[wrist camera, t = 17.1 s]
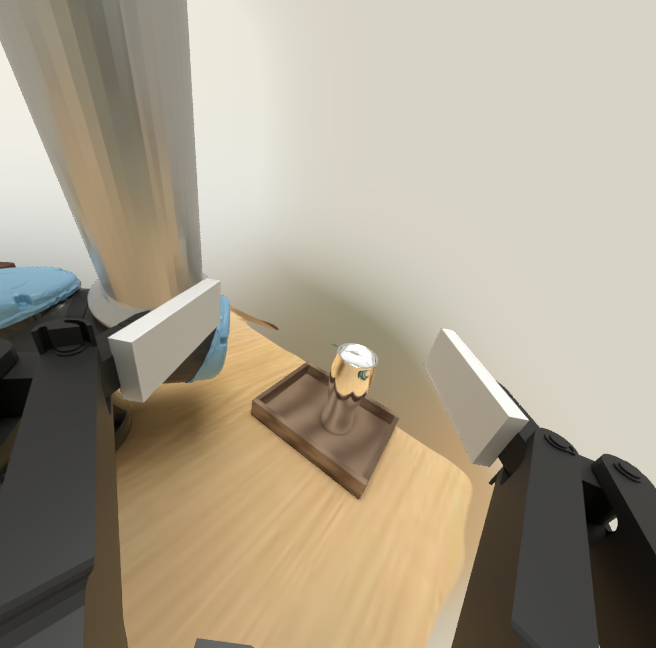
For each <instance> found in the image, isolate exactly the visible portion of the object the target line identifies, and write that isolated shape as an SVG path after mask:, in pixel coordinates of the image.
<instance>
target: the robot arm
mask: <svg viewBox="0 0 656 648" xmlns="http://www.w3.org/2000/svg"><path fill="white" fill-rule="evenodd" d="M0 41H1V44H2V46H3V48H4V51H5V53H6V56H7V58H8V60H9V63H10V65H11V68H12V70H13V72H14V75H15V77H16V80H17V82H18V84H19V87H20V89H21V92H22V94H23V96H24V99H25V101H26V104H27V106H28V109H29V111H30V113H31V116H32V118H33V121H34V123H35V125H36V127H37V130H38V133H39V135H40V137H41V140H42V142H43V145H44V147H45V149H46V152H47V154H48V157H49V159H50V162H51V164H52V166H53V169H54V171H55V174H56V176H57V178H58V181H59V183H60V185H61V188H62V190H63V193H64V195H65V197H66V200H67V202H68V205H69V207H70V210H71V212H72V215H73V217H74V219H75V222H76V224H77V226H78V229H79V231H80V234H81V236H82V238H83V241H84V243H85V246H86V248H87V251H88V253H89V255H90V258H91V260H92V263H93V265H94V267H95V270H96V272H97V275H98V277H99V279H98V280H97V281H96V282H95V283H94V284H93V285H92V287H91V288H90V289H84V288H81V281H80V280H79V279H78V278H77V277H76V275H75V274H73V273H72V272H70V271H67V270H63V269H60V268H54V267H15V268H3V269H0V648H128V645H127V638H126V633H125V627H124V621H123V609H122V589H121V567H120V546H119V524H118V503H117V482H116V460H115V451H116V450H117V448H118V447H119V446H120V445H121V444H122V442H123V441H124V439H125V438H126V436H127V434H128V432H129V430H130V427H131V414H130V410H129V406H128V404H127V402H126V400H129V401H135V402H140V403H144V402H145V401H146V400H147V399H148V398H149V397H150V396H151V395H152V394H153V393H154V392H155V391H156V389H157V388H158V387H159V386H160V385H161V384H164V383H180V382H185V383H192V382H194V381H197V380H205V379H211V378H214V377H216V376H217V375H218V374H219V373H220V372H221V370H222V368H223V365H224V361H225V357H226V352H227V339H228V334H229V326H230V304H229V300H228V298H227V297H226V296H224V295H220V281H218V280H214V279H210V278H209V277H208V276H206V275H205V274H204V273H202V260H201V242H200V225H199V208H198V189H197V174H196V154H195V137H194V119H193V102H192V84H191V67H190V49H189V32H188V14H187V0H0ZM424 367H425V369H426V371H427V373H428V375H429V377H430V379H431V381H432V383H433V385H434V387H435V389H436V391H437V393H438V395H439V397H440V399H441V401H442V403H443V405H444V407H445V409H446V411H447V413H448V415H449V417H450V420H451V422H452V423H453V426H454V428H455V430H456V432H457V434H458V436H459V438H460V440H461V442H462V444H463V446H464V448H465V450H466V452H467V454H468V456H469V458H470V460H471V462H472V463H473V464H478V465H483V466H488V467H490V466H491V465H492V464H493V462H494V461H495V460H496V459H497V458H499V459H500V461H501V463H502V464H503V467H502V468H501V470H499V472H498V473H497V474H496V475H495V476H494V477H493V478H492V479H491V481H490V482H489V484H491V485H492V484H493V483H494V482H495V487H494V490H493V494H492V498H491V501H490V505H489V509H488V513H487V516H486V520H485V524H484V527H483V531H482V535H481V539H480V542H479V546H478V550H477V554H476V558H475V561H474V565H473V569H472V572H471V576H470V580H469V583H468V587H467V591H466V595H465V598H464V602H463V606H462V610H461V613H460V617H459V621H458V625H457V628H456V632H455V636H454V640H453V643H452V647H451V648H599V646H600V648H656V488H655V487H654V485H653V484H652V483H651V482H650V481H649V480H648V478H647V477H646V476H645V475H643V474H642V473H641V472H640V471H639V470H638V469H637V468H636V467H634V466H632V465H631V464H630V463H628V462H626V461H624V460H622V459H620V458H618V457H616V456H613V455H610V454H603V455H602V456H601V457H600V458H598V459H597V460H596V461H593V460H590V459H588V458H585V457H583V456H581V455H579V454H578V452H577V451H576V449H575V448H574V447H573V446H572V445H571V444H570V443H569V442H568V441H567V440H565V439H564V438H563V437H561V436H560V435H558V434H556V433H554V432H552V431H550V430H548V429H544V428H540V427H539V426H538V425H537V424H536V423H535V422H534V420H533V419H532V418H531V417H530V416H529V415H528V413H527V412H526V411H525V410H524V409H523V408H522V407H521V405H519V403H518V402H517V401H516V400H515V398H513V396H512V395H511V394H510V393H509V391H508V390H507V389H505V387H503V386H502V385H501V384H500V383H498V382H497V381H496V380H495V379H494V378H493V377H492V376H491V375H490V373H489V372H488V371H487V370H486V369H485V368H484V366H483V365H482V364H481V363H480V362H479V360H478V359H477V358H476V357H475V356H474V354H473V353H472V352H471V351H470V350H469V348H468V347H467V346H466V345H465V344H464V343H463V341H462V340H461V339H460V338H459V337H458V336H457V334H456V333H455V332H454V331H453V330H448V329H443V328H441V330H440V332H439V334H438V336H437V338H436V340H435V342H434V344H433V346H432V348H431V350H430V352H429V354H428V356H427V359H426V361H425V362H424ZM119 388H120V390H121V394H122V396H121V395H120V394H119V393H118V391H117V390H118V389H119ZM615 518H617V520H618V526H617V529H616V531H612V530H611V528H610V525H609V522H611V521H612V520H613V519H615ZM194 648H254V647H252V646H251V645H243V644H236V643H228V642H221V641H213V640H206V639H199V638H197V640H196V643H195V646H194Z"/></svg>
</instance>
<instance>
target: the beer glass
mask: <svg viewBox="0 0 656 648" xmlns="http://www.w3.org/2000/svg"><path fill="white" fill-rule="evenodd" d="M377 364H378V357H377V356H376V354H375V353H374V352H373V351H372V350H370V349H369V348H367V347H365V346H362V345H359V344H355V343H346V344H343V345H341V346H339V348H338V351H337V353H336V356H335V359H334V362H333V364H332V367H331V371H330V375H329V383H328V398H327V403H326V406H325V407H324V409H323V411H322V413H321V423H322V425H323V426H324V428H325V429H326V430H328V431H329V432H331V433H334V434H339V435H341V434H346V433H348V432H349V431H350V430H351V428H352V426H353V420H354V414H355V412H356V410H357V408H358V406H359V405H360V404H361V402H362V401H363V399H364V398H365V396H366V394H367V392H368V391H369V388H370V386H371V383H372V381H373V378H374V374H375V371H376V367H377Z"/></svg>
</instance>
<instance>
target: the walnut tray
mask: <svg viewBox="0 0 656 648" xmlns="http://www.w3.org/2000/svg"><path fill="white" fill-rule="evenodd" d="M329 375H330V374H329V373H327V372H325V371H323V370H322V369H320V368H318V367H317V366H315V365H313V364H312V363H310V362H306V363H305V364H303V365H302V366H300V367H299V368H298V369H296V370H295V371H293V372H292V373H290V374H289V375H288V376H286V377H285V378H283V379H282V380H280V381H279V382H278V383H276V384H275V385H273V386H272V387H270V388H269V389H268V390H266V391H265V392H263V393H262V394H260V395H259V396H257V397H256V398H255V399H253V400H252V411H251V414H252V415H253V416H254V417H255V418H257V419H258V420H259V421H260V422H262V423H263V424H264V425H265V426H267V427H268V428H269V429H270V430H272V431H273V432H274V433H276V434H277V435H278V436H279V437H281V438H282V439H283V440H284V441H286V442H287V443H288V444H289V445H291V446H292V447H293V448H295V449H296V450H297V451H298V452H300V453H301V454H302V455H303V456H305V457H306V458H307V459H308V460H310V461H311V462H312V463H313V464H315V465H316V466H317V467H319V468H320V469H321V470H322V471H324V472H325V473H326V474H327V475H329V476H330V477H331V478H332V479H334V480H335V481H336V482H337V483H339V484H340V485H341V486H343V487H344V488H345V489H346V490H348V491H349V492H350V493H351V494H353V495H354V496H355V497H356V498H358V499H359V498H360V496H361V494H362V492H363V490H364V488H365V486H366V484H367V482H368V480H369V478H370V476H371V474H372V472H373V470H374V468H375V466H376V464H377V462H378V460H379V458H380V456H381V454H382V452H383V450H384V448H385V446H386V444H387V442H388V440H389V438H390V436H391V434H392V432H393V430H394V428H395V426H396V424H397V422H398V420H399V418H400V415H398V414H396V413H395V412H393V411H391V410H390V409H388V408H386V407H384V406H383V405H381V404H379V403H378V402H376V401H374V400H373V399H371V398H369V397H368V396H365V398H364V399H363V401H362V402H361V404H360V405H359V406H358V408H357V410H356V412H355V414H354V420H353V426H352V428H351V430H350V431H349V432H348V433H346V434H341V435H339V434H334V433H331V432H329V431H328V430H326V429H325V428H324V426H323V425H322V423H321V413H322V411H323V409H324V407H325V406H326V403H327V398H328V383H329Z"/></svg>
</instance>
